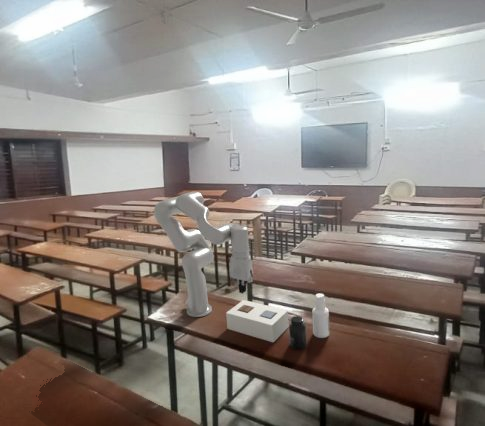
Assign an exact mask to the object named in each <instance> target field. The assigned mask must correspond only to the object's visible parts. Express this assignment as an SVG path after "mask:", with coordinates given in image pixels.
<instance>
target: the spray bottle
mask: <svg viewBox="0 0 485 426" xmlns="http://www.w3.org/2000/svg"><path fill="white" fill-rule="evenodd" d="M325 301H326V299H325V294H324V293H316V294H315V305H314V308H312V310H311V313H312V314H311V317H312V334H313V336H314V337H316V338H319V339H325V338H327V337H329V336H330V311H329V309H328V308H327V307H326V302H325Z"/></svg>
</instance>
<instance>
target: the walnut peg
mask: <svg viewBox="0 0 485 426" xmlns="http://www.w3.org/2000/svg"><path fill="white" fill-rule="evenodd" d="M252 309H253V307H251V306H247V305H243V306H242V307H241V308H239V309H238V311H241V312H245V313H248V312H250V311H251V310H252Z"/></svg>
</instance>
